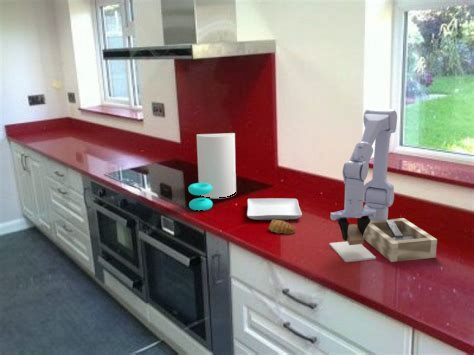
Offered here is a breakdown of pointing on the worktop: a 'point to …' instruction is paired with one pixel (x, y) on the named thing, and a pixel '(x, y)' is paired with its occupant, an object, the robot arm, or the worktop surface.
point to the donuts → (200, 202)
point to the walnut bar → (354, 235)
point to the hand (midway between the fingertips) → (352, 239)
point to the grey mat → (352, 251)
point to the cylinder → (217, 163)
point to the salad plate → (273, 209)
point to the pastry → (281, 227)
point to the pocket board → (400, 241)
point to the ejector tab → (397, 232)
